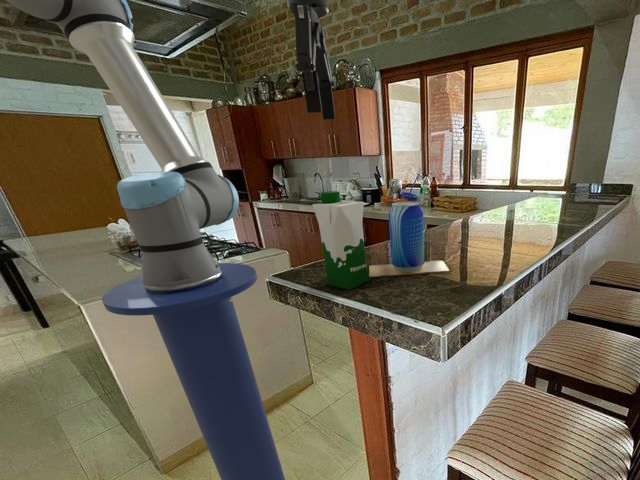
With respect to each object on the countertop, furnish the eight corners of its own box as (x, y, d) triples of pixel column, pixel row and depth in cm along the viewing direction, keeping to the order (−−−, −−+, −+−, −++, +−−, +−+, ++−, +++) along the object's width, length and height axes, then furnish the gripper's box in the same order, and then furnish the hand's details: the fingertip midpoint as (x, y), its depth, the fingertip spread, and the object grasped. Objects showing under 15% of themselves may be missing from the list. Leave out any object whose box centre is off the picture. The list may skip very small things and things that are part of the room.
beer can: (405, 261, 92) (402, 200, 85) (430, 266, 87) (430, 202, 80) (385, 269, 86) (380, 204, 79) (411, 275, 81) (409, 206, 74)
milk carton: (347, 274, 84) (336, 190, 75) (375, 280, 79) (367, 191, 71) (321, 285, 77) (306, 194, 69) (350, 292, 73) (338, 195, 64)
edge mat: (369, 277, 81) (369, 276, 81) (369, 266, 89) (369, 265, 89) (449, 271, 84) (449, 270, 84) (442, 261, 92) (442, 260, 92)
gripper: (307, -53, 52) (328, 108, 61) (337, 11, 74) (349, 121, 83) (258, -52, 51) (286, 109, 61) (303, 11, 74) (319, 122, 83)
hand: (322, 116), depth 72 cm, fingers open, 13 cm apart
